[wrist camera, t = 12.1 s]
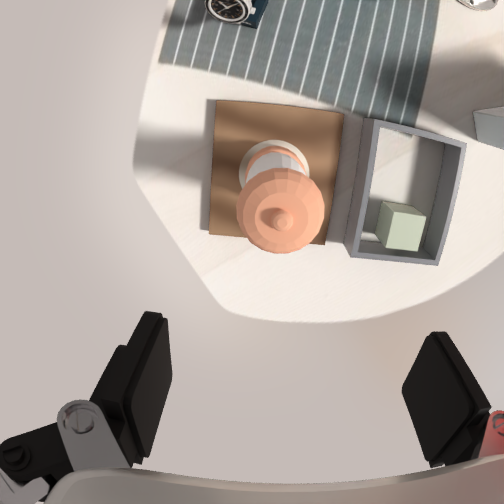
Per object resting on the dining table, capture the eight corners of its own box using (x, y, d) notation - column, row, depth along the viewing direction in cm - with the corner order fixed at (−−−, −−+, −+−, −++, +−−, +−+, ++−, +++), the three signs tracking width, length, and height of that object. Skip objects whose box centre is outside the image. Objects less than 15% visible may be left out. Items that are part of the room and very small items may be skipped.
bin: (363, 117, 38) (374, 118, 34) (450, 139, 38) (466, 143, 34) (343, 243, 46) (350, 257, 42) (425, 252, 46) (437, 265, 41)
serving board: (217, 100, 38) (216, 100, 37) (342, 113, 38) (344, 114, 37) (210, 231, 46) (208, 234, 44) (323, 241, 46) (324, 245, 44)
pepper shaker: (275, 212, 43) (281, 285, 25) (234, 174, 41) (210, 224, 23) (315, 173, 40) (352, 222, 23) (274, 133, 39) (282, 151, 21)
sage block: (381, 200, 43) (394, 211, 38) (411, 205, 43) (426, 216, 38) (374, 233, 45) (385, 247, 40) (404, 237, 45) (417, 251, 40)
